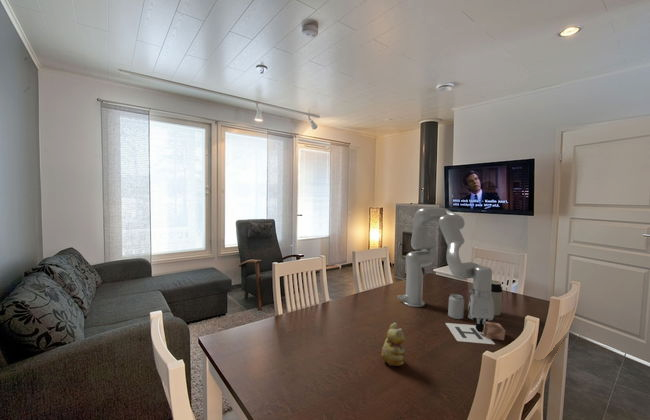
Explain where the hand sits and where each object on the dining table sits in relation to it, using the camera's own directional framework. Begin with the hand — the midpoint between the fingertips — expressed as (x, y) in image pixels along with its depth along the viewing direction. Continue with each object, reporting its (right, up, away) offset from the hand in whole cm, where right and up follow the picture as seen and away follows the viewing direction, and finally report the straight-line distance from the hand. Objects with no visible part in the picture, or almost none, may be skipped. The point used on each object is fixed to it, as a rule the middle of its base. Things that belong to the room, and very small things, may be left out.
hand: (479, 331), depth 132 cm
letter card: (-5, -2, +1) cm, 5 cm away
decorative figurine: (-47, -2, -24) cm, 53 cm away
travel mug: (+21, -1, +26) cm, 33 cm away
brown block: (+5, -2, -1) cm, 6 cm away
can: (-3, -1, +19) cm, 19 cm away
